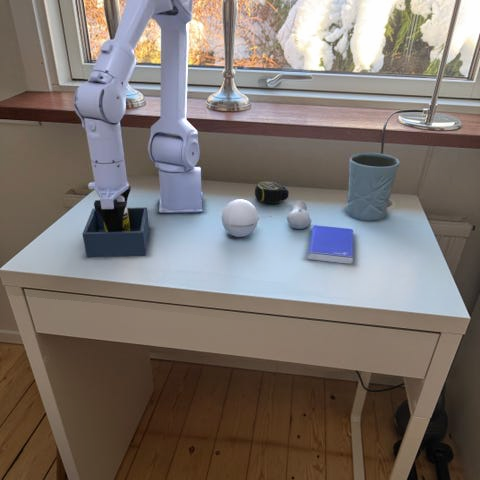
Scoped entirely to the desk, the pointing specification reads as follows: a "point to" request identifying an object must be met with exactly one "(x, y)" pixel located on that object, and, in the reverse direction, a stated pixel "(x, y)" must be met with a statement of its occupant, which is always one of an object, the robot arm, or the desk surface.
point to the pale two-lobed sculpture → (298, 215)
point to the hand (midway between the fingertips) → (118, 230)
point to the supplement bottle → (125, 217)
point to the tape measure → (270, 192)
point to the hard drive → (331, 244)
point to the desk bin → (117, 236)
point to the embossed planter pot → (370, 185)
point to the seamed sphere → (240, 218)
